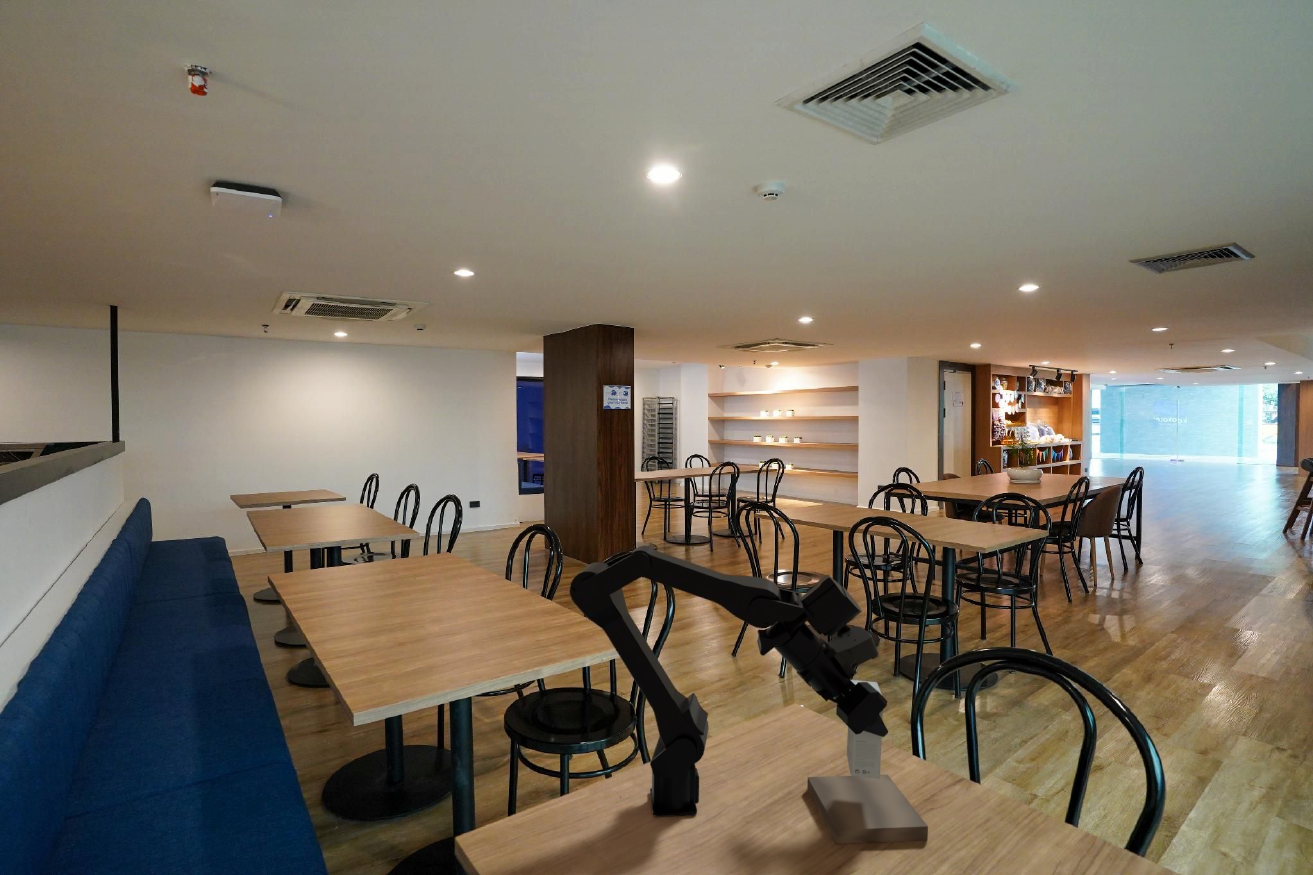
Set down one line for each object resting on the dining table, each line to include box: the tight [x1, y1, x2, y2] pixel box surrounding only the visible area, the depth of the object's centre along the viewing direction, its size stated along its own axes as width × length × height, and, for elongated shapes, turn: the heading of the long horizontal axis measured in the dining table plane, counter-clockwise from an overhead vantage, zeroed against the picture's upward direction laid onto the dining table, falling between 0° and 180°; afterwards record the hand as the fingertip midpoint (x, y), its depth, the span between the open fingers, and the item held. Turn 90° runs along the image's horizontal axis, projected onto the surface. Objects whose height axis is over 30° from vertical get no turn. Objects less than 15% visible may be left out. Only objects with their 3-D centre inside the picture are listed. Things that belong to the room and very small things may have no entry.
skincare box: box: [846, 679, 884, 779], centre depth 98 cm, size 6×4×12 cm
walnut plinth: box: [806, 774, 929, 845], centre depth 98 cm, size 13×13×2 cm
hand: (873, 722), depth 99 cm, fingers closed on skincare box, 7 cm apart
